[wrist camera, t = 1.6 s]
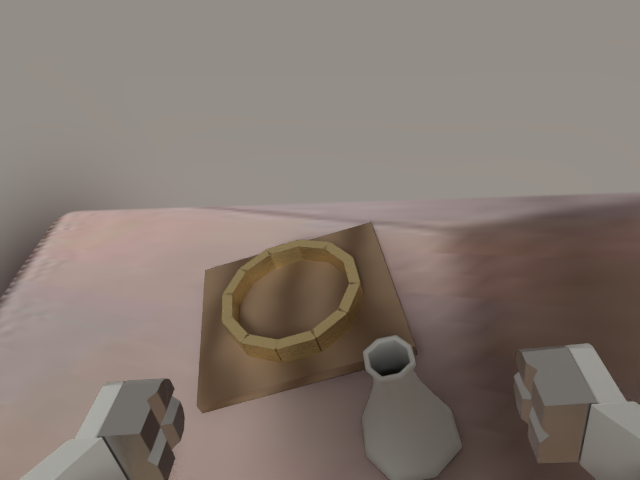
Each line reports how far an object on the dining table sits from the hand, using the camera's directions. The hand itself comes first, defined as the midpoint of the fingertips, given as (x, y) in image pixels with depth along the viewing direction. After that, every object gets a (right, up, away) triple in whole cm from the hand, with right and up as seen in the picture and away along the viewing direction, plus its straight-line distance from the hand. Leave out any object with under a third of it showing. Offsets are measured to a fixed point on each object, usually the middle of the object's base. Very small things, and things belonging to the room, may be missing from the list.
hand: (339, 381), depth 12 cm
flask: (+6, -11, +25) cm, 28 cm away
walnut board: (-3, -4, +37) cm, 37 cm away
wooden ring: (-3, -3, +36) cm, 36 cm away
